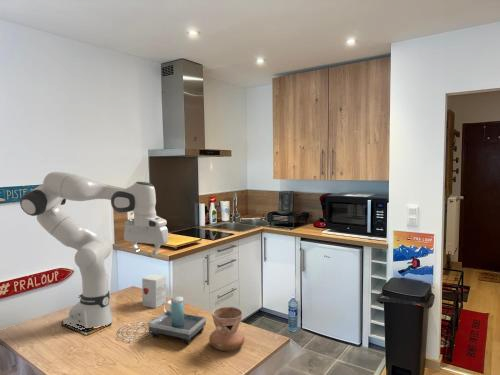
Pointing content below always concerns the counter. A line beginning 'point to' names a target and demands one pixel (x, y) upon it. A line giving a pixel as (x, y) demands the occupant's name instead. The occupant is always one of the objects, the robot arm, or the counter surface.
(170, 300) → the cup
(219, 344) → the ceramic jug
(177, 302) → the tin
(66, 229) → the robot arm
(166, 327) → the shallow tray
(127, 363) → the counter surface
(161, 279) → the supplement box
